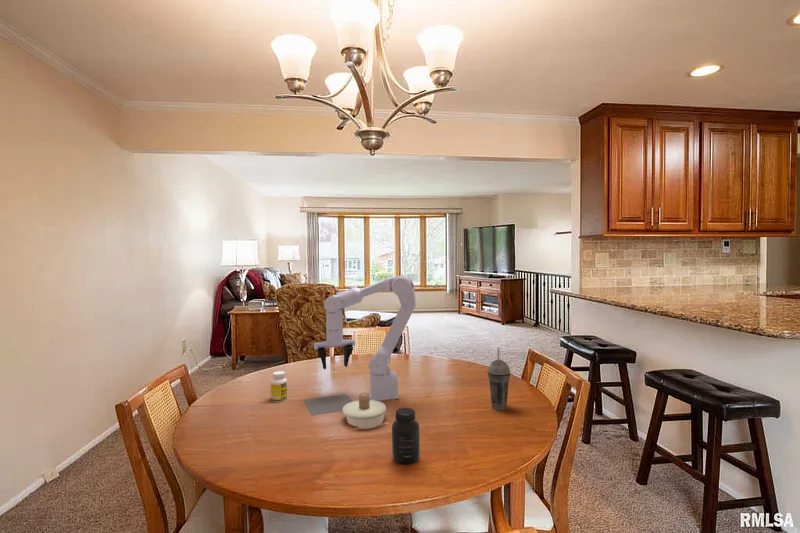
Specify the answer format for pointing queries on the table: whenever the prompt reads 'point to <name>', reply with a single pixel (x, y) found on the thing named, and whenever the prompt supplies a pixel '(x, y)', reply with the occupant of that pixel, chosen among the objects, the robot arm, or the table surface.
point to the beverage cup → (499, 383)
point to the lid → (364, 408)
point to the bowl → (366, 422)
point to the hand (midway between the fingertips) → (335, 367)
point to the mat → (327, 404)
